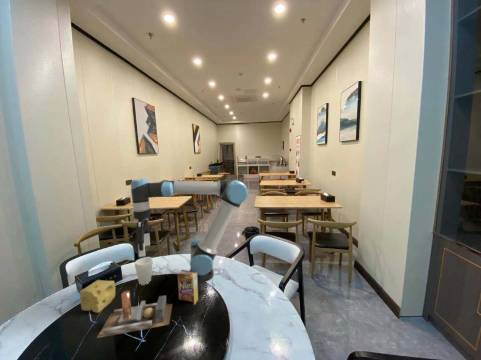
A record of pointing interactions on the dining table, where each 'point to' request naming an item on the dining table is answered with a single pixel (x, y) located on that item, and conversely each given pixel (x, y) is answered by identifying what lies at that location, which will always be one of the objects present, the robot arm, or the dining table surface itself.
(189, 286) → the candy box
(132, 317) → the ram
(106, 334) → the board
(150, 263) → the foam cup
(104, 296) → the cheese
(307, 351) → the dining table surface
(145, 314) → the nut
